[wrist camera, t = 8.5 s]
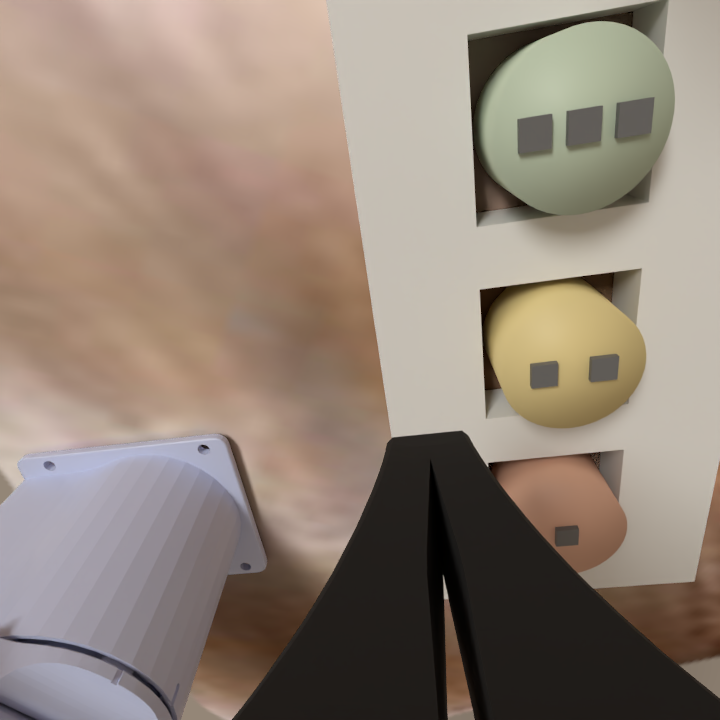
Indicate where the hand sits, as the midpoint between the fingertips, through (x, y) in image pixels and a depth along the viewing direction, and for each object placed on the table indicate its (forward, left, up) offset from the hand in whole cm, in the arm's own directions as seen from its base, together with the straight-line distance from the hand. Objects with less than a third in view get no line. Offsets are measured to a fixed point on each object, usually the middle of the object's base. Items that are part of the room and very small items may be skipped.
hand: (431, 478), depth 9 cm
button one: (+5, -9, -10) cm, 14 cm away
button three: (+5, +5, -10) cm, 12 cm away
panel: (+5, -2, -10) cm, 12 cm away
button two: (+5, -2, -10) cm, 11 cm away
